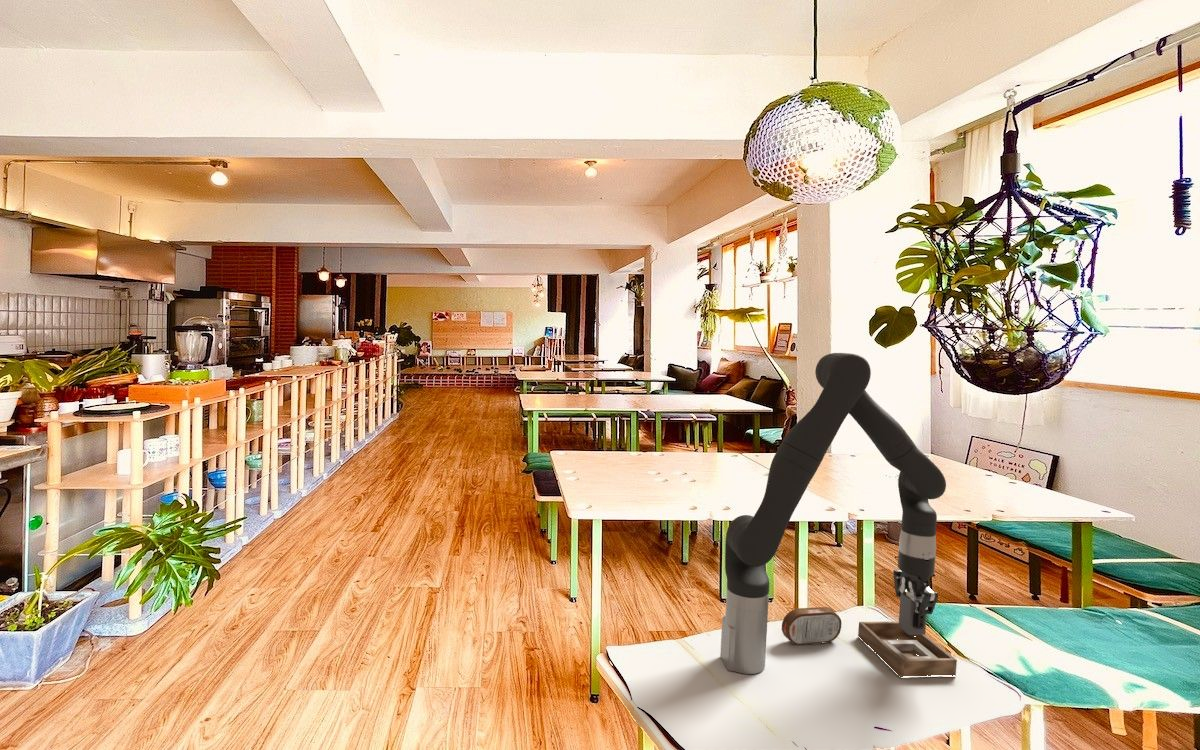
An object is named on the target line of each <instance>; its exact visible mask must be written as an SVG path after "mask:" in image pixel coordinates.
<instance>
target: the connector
mask: <svg viewBox="0 0 1200 750" xmlns="http://www.w3.org/2000/svg"><path fill="white" fill-rule="evenodd" d="M922 597H923V596H922ZM922 597H916V598H922ZM920 605H921V603H919V608H920ZM913 615H914V602H912V600H911V594H910V592H908V591H906V594H902V593H901V597H899V615H898V622H899V627H900V628H901V629H902V630H903V631H905V632H906V633H907V634H908V635H926V628H927V615H928V614H925V619H924V627H923V629H915V628H914V627H913Z"/></svg>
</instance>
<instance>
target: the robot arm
mask: <svg viewBox="0 0 1200 750" xmlns="http://www.w3.org/2000/svg"><path fill="white" fill-rule="evenodd" d="M814 372H815V373H814V374H815V378H816V380H817V382H818V385H820V387H821V388H822V391H821V393H820V394H819V397H818V399H817V400H816V402H815V404H814V405H813V406H812V407H811V409H809V411H808V412H807V413H806V414H805V415H804V416H803V417H802V418H800V420H799V421H797V422H796V424H795V425H794V426H793V427H792V428H790V430H789V431H788V432H787V433H786V435H785V436H784V438H783V439H782V440H781V441H782V442H781V443H780V445H779V447H778V449H777V451H776V453H775V454H774V455H773V458H772V460H771V464H770V467H769V471H768V475H767V480H766V481H767V482H766V487H765V492H764V495H763V498H762V501H761V503H760V504H759V507H758V509H757V510H756V512H755V513H754V515H748V514H744V515H739V516H737V517H735V518H734V519H733V520H732V521H731V522H730V523H729V526H728V527H727V530H726V535H725V547H724V550H725V551H724V571H725V576H726V596H725V598H726V599H725V613H724V614H725V615H724V616H722V617H721V619H722V620H721V633H720V634H721V635H720V636H721V638H720V652H719V653H720V659H721V660H722V662H723V664H724V666H725V667H726V669H727V671H728V672H729V671H730V672H731V671H733V672H737V673H740V674H744V675H755V674H759V673H762V672H763V671H764V670H765V667H766V659H767V658H766V650H767V634H768V617H769V599H770V579H769V577H768V573H767V569H766V564H768V563H769V562H770V561H771V560H772V559H773V558H774V556H775V554H776V553H777V551H778V549H779V547H780V544H781V541H782V540H783V537H784V535H785V532H786V529H787V527H788V525H789V523H790V520H791V518H792V515H793V514H794V512H795V510H796V508H797V506H798V505H799V503H800V501H801V499H802V497H803V495H804V494H805V492H806V490H807V488H808V487H809V484H810V482H811V481H812V479H813V478H814V477H815V474H816V473H817V471H818V469H819V468H820V465H821V463H822V461H823V459H824V458H825V456H826V454H827V451H828V450H829V448H830V446H831V444H832V442H833V441H834V439H835V437H836V435H837V434H838V431H839V430H840V428H841V426H842V425H843V422H844V421H845V419H846V418H847V416H848V415H850V416H851V417H852V418H853V420H854V421H855V422H856V423H857V424H858V426H860V428H861V429H862V430H863V432H864V433H865V434H866V435H867V437H868V438H869V439H870V441H871V442H872V443H873V444H874V446H875V447H876V449H877V450H878V452H879V453H880V454H881V455H882V457H883V458H884V459H885V460H886V462H888V463H889V465H890V466H892V467H893V468H895V469H897V470H898V471H899V473H898V474H899V475H898V479H897V486H898V487H897V488H898V494H899V499H900V504H901V509H902V515H901V528H900V535H899V538H898V539H899V540H898V554H897V568H898V569H897V570H896V569H895V570H893V572H892V573H893V583H894V590H895V591H894V592H895V595H896V597H899V598H900V597H901V593H902V594H906V591H908V592H910V594H911V600H912V602H914V615H913V627H914V628H915V629H923V627H924V619H925V614H927V615H932V614H933V612H934V609H935V607H936V604H937V601H938V599H939V593H938V592H937V591H933V590H932V589H931V588H930V587H931V583H930V578H931V577H932V576H933V575H934V574H935V570H936V569H935V568H936V567H935V566H936V553H937V538H936V537H937V536H936V535H937V523H938V521H937V520H938V518H937V517H938V515H937V512H936V510H935V509H934V508H933V507H932V506H931V504H930V503H929V500H935V499H939V498H940V497H942V496H943V495H944V494H945V492H946V489H947V482H946V477H945V476H944V474H943V473H942V471H941V469H940V468H939V467H938V466H937V465H936V464H935V462H933V461H932V460H931V459H930V458H929V457H928V456H926V454H924V453H923V452H922V451H921V450H920V449H919V448H918V447H917V446H916V444H915V443H914V441H913V439H912V438H911V436H909V434H908V433H907V432H906V430H905V429H904V427H903V426H902V425H901V424H900V422H898V421H897V420H896V419H895V418H894V417H893V416H892V415H891V414H890V413H889V412H888V411H886V410H885V409H884V408H883V407H881V406H880V405H879V403H877V401H875V400H874V399H873V397H871V395H870V394H869V393H868V392H867V390H866V389H867V387H868V386H869V382H870V380H871V375H872V374H871V373H872V370H871V366H870V363H869V362H868V360H867V359H866V358H865V357H864V356H862V355H859V354H856V353H847V352H832V353H828V354H825V355H824V356H822V357H821V358H820V359H819V360H818V362H817V364H816V366H815V371H814ZM916 597H922V598H916ZM919 603H921V605H920V608H919Z"/></svg>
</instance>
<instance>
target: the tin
mask: <svg viewBox="0 0 1200 750" xmlns="http://www.w3.org/2000/svg"><path fill="white" fill-rule="evenodd" d="M841 630H842V619H841V617H840V616H839V614H838V613H836V612H835V611H834V610H833V609H832V608H830V607H828V606H819V607H817V606H816V607H801V608H800V607H799V608H794V609H791V610H790V611H789V612H788V613H786V615H784V618H783V620H782V622H781V631H782V634H783V636H784V637H785V638H786V639H787V640H788V641H789V642H790V643H792V644H794V645H797V646H803V645H802V644H806V645H814V644H813V643H820V644H823V643H822V642H829V643H831V642H833V641H835V640H836V639H837V638H838V636H839V635H840V633H841Z"/></svg>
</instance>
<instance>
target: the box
mask: <svg viewBox="0 0 1200 750" xmlns="http://www.w3.org/2000/svg"><path fill="white" fill-rule="evenodd" d="M857 629H858V631H857V637H858V636H859V637H860V638H861V639H862V640H863V641H864V642H865V643H866V644H867V645H869V646H870V647H871V648H872V649H873V650H874V652H876V654H878V655H879V656H880V657H881V658H882V659H883V660H884V661H885V662H886V663H887V664H888V665H889V666H890V667H891V668H892V669H893V670H894V671H895V672H896V673H897V674H898V675H899V676H900V677H903V676H927V675H928V676H931V675H952V676H953V675H955V676H956V674H957V666H958V665H957V664H958V663H957V661H958V660H957V659H956V658H955V657H954V656H953V655H952V654H950V653H949V652H947V651H946V650H945V649H944V648H943V647H941V646H940V645H939V644H937V643H936V642H935V641H933V640H932V639H931V638H930V637H929V636H927V635H926V634H925V635H908V634H907V633H906V632H905V631H903V630H902V629H901V628H900V627H899V621H859V622H858V628H857ZM914 636H916V637H914ZM897 639H898V640H897ZM916 654H917V655H919V656H917V655H916ZM956 677H957V676H956Z"/></svg>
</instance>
